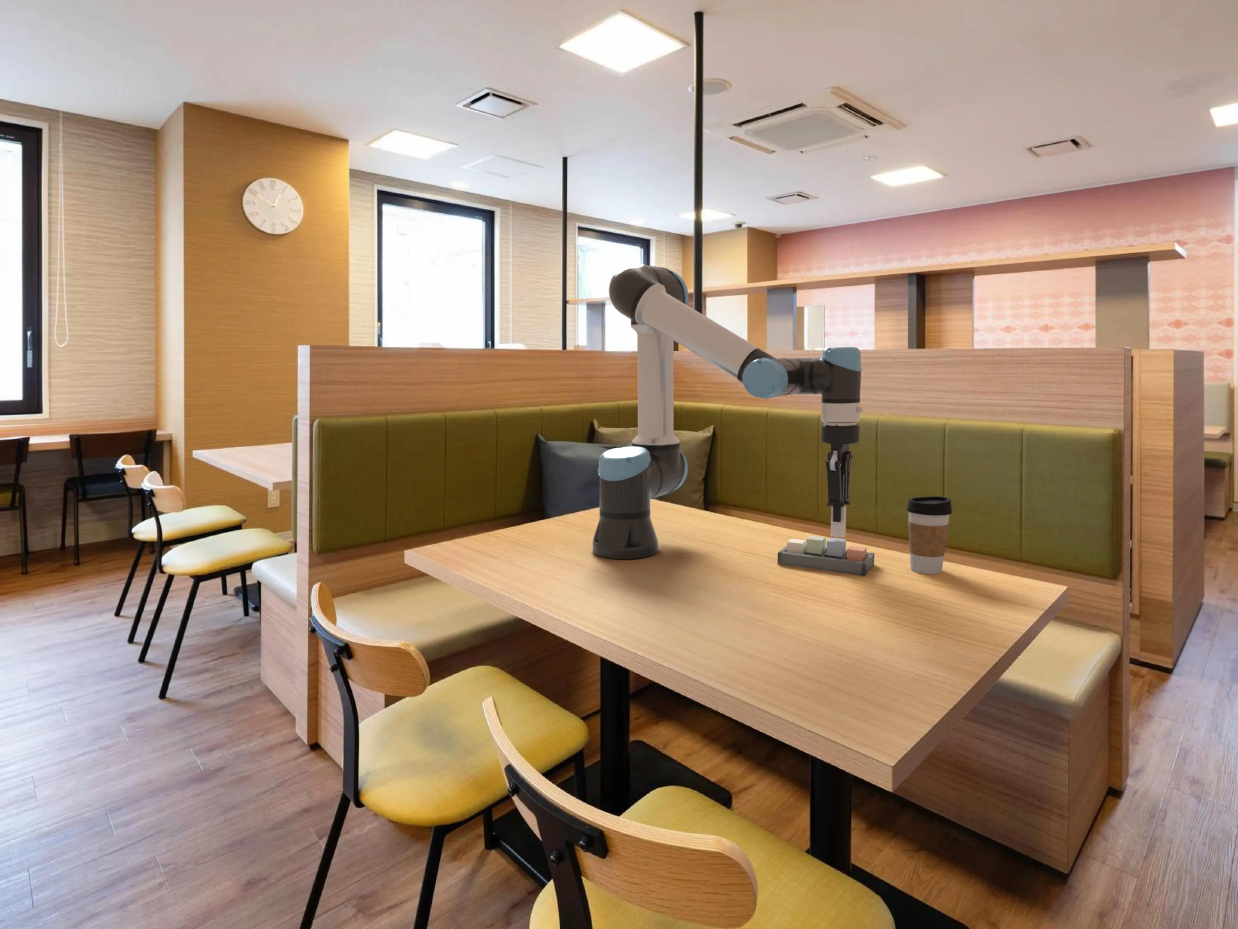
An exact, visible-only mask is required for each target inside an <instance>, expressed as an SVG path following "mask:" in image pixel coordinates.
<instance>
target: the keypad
mask: <svg viewBox="0 0 1238 929" xmlns="http://www.w3.org/2000/svg"><path fill="white" fill-rule="evenodd" d="M806 548H807V544H806ZM826 551H827V546H826V548H825V552H824V553H823V554H814V553H806V550H805V551H804V552H803V553H801V554H799V553H791V552H787V545H785V546H784V547H783V548H782V549H780V550H779V551H778V552H777V565H782V566H790V567H797V568H804V569H811V570H819V571H824V572H825V571H826V572H833V573H840V574H847V575H854V576H862V577H866V575H867V574H868V573H869V572H870V571H871V569H872V568H873V567H874V565H875V553H874V552H868V551H866V559H865V560H864V561H863V562H861V561H853V560H847V549H846V553H845V554H844V555H843V557H838V556H830V555H826Z"/></svg>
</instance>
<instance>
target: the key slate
mask: <svg viewBox="0 0 1238 929" xmlns="http://www.w3.org/2000/svg"><path fill="white" fill-rule="evenodd" d="M846 546H847V539H845V538H839V537H829V538H828V539H827V540H826V547H827V551H826V555H830V556H838V557H843V555H844V554H845V553H846V550H847V549H846Z"/></svg>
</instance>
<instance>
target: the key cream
mask: <svg viewBox="0 0 1238 929" xmlns="http://www.w3.org/2000/svg"><path fill="white" fill-rule="evenodd" d="M806 545H807V539H800V538H797V539H796V538H790V539H789V540H787V541H786V546H787V552H791V553H799V554H801V553H803V552H804V551H805V550H806Z"/></svg>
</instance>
